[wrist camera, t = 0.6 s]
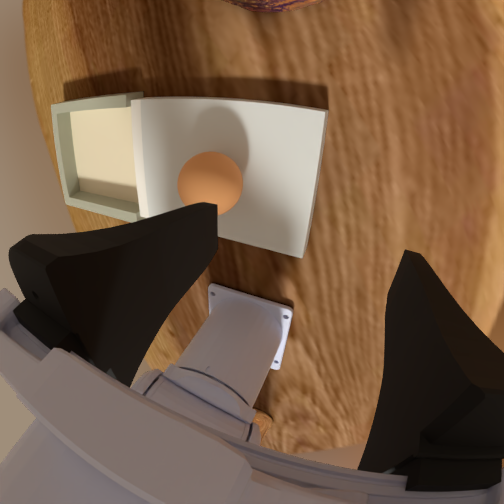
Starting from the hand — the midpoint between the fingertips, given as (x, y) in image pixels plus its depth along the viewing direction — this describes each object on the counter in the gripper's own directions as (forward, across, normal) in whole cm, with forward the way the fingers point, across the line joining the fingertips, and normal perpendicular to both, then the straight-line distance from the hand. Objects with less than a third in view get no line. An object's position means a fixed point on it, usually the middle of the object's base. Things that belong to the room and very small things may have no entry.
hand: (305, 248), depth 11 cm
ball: (+6, +7, +1) cm, 9 cm away
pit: (+9, +20, +1) cm, 23 cm away
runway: (+9, +8, +1) cm, 12 cm away
